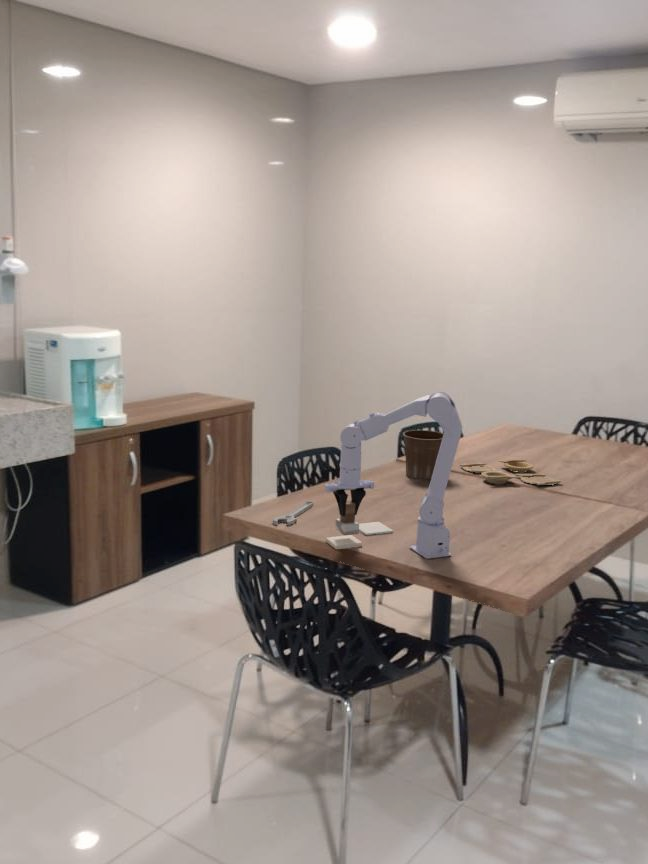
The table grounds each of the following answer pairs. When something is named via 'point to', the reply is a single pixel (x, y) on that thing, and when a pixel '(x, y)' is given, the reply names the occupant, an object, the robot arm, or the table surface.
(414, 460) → the plant pot
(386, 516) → the table surface
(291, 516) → the adjustable wrench
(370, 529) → the mat
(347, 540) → the tile
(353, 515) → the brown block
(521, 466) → the tableware set
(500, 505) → the table surface
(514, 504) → the table surface
